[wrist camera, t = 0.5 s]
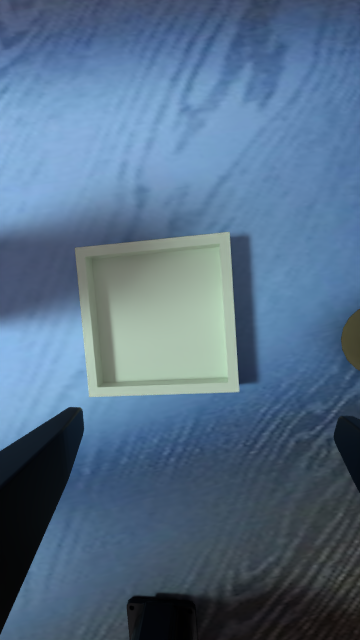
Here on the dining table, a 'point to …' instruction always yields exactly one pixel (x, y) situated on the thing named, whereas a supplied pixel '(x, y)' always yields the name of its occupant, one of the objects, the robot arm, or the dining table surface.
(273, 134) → the dining table surface
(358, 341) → the cork
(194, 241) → the tray
